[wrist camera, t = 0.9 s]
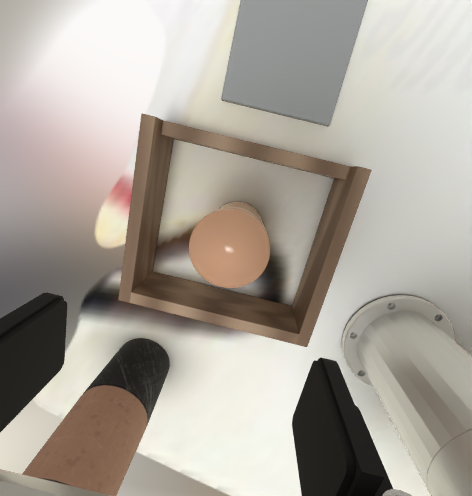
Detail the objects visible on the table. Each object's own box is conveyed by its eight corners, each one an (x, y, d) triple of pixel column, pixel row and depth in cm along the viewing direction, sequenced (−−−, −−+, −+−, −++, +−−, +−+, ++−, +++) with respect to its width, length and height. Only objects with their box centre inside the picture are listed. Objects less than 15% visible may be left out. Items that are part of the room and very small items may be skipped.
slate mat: (366, -3, 25) (370, -8, 24) (327, 126, 28) (329, 125, 28) (248, -32, 25) (248, -38, 24) (222, 100, 28) (221, 98, 28)
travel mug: (120, 329, 37) (-28, 505, 18) (176, 345, 37) (89, 537, 18) (113, 375, 39) (-26, 576, 20) (166, 390, 39) (77, 604, 20)
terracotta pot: (273, 206, 31) (279, 221, 22) (258, 262, 33) (258, 296, 24) (214, 191, 31) (197, 200, 22) (202, 248, 33) (182, 277, 24)
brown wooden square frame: (349, 169, 29) (371, 170, 24) (298, 317, 34) (307, 347, 29) (164, 124, 29) (141, 113, 24) (141, 277, 35) (118, 299, 29)
